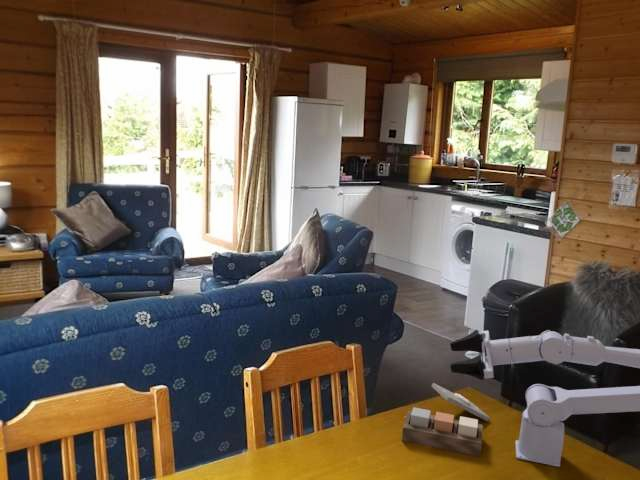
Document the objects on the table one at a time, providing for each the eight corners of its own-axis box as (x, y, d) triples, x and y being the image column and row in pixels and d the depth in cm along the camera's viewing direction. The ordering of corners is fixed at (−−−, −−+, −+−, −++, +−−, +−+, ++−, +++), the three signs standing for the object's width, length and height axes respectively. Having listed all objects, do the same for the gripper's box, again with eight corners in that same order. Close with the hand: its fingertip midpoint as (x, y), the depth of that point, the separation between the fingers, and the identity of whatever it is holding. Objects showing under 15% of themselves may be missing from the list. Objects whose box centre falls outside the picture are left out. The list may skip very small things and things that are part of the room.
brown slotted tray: (480, 438, 146) (482, 424, 146) (479, 457, 138) (481, 443, 137) (407, 423, 151) (408, 410, 150) (401, 440, 142) (403, 427, 142)
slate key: (429, 421, 147) (430, 410, 146) (427, 430, 143) (428, 418, 142) (412, 418, 148) (413, 407, 147) (409, 426, 144) (410, 414, 143)
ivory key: (476, 431, 144) (477, 419, 143) (475, 439, 140) (477, 427, 139) (458, 427, 145) (459, 416, 144) (457, 436, 141) (458, 424, 140)
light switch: (492, 415, 155) (451, 394, 149) (480, 434, 155) (438, 414, 150) (474, 400, 163) (434, 379, 157) (463, 418, 163) (423, 398, 158)
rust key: (452, 426, 145) (454, 415, 145) (451, 434, 141) (452, 423, 141) (435, 423, 146) (436, 411, 146) (433, 431, 142) (434, 419, 142)
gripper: (505, 317, 142) (447, 324, 146) (511, 358, 130) (447, 364, 134) (509, 341, 145) (453, 347, 149) (515, 383, 133) (453, 388, 137)
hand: (450, 357), depth 142 cm, fingers open, 7 cm apart
